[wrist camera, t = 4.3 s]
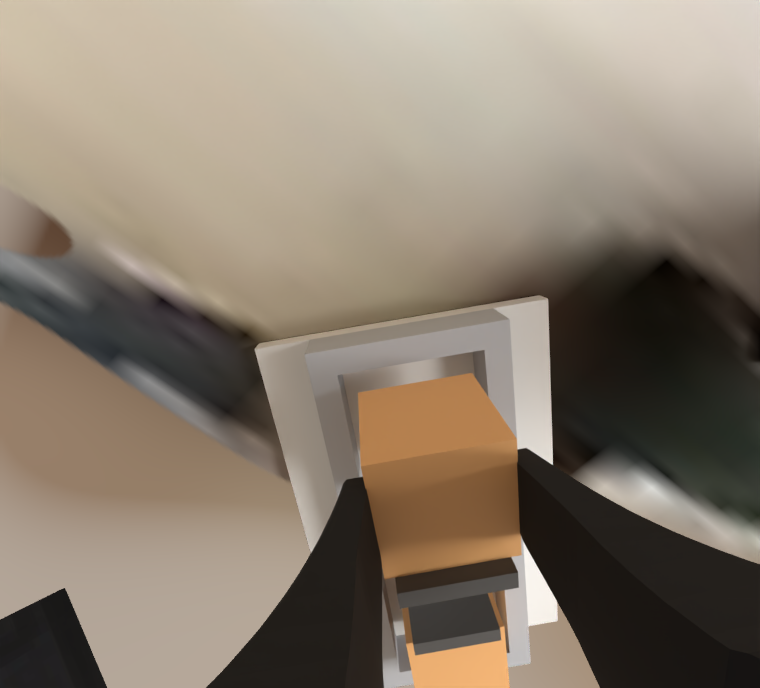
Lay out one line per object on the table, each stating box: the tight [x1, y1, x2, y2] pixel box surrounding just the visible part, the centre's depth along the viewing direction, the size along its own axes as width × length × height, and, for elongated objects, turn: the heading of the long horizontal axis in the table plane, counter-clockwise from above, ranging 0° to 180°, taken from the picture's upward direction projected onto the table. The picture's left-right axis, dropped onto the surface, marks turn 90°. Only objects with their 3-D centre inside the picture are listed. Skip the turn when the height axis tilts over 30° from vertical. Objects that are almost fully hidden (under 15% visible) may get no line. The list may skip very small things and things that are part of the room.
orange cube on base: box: [358, 373, 522, 609], centre depth 12 cm, size 4×5×4 cm
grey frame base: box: [255, 295, 557, 688], centre depth 17 cm, size 12×18×5 cm, turn 9°
